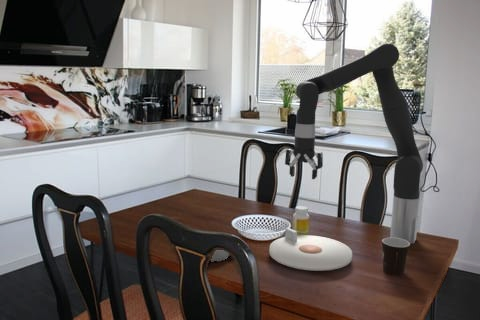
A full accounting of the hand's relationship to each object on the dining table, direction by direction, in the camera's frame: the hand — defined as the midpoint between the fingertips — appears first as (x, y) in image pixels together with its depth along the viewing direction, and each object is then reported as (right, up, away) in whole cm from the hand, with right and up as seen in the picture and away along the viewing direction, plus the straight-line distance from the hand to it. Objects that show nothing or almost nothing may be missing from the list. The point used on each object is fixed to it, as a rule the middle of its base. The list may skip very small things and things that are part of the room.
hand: (302, 177), depth 183 cm
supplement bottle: (0, -23, +4) cm, 23 cm away
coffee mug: (+25, -30, -28) cm, 48 cm away
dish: (-33, -27, -17) cm, 46 cm away
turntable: (0, -25, -18) cm, 31 cm away
